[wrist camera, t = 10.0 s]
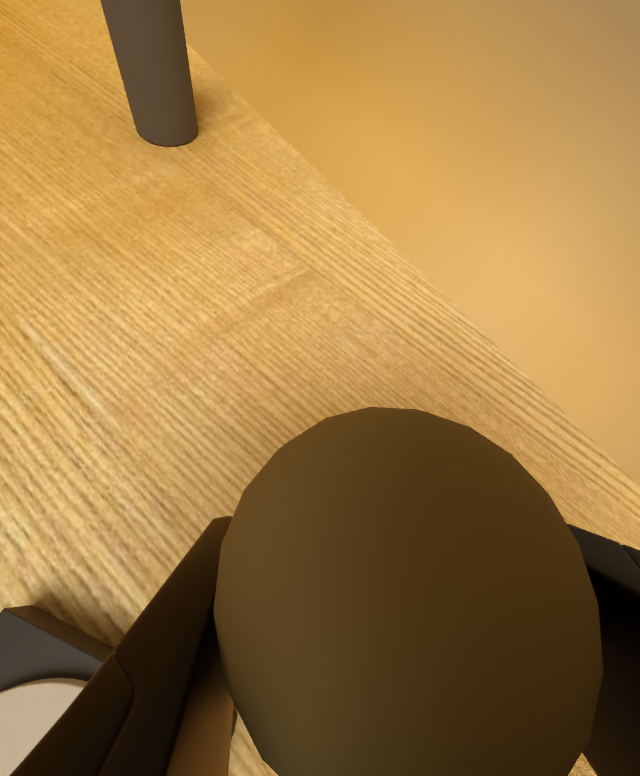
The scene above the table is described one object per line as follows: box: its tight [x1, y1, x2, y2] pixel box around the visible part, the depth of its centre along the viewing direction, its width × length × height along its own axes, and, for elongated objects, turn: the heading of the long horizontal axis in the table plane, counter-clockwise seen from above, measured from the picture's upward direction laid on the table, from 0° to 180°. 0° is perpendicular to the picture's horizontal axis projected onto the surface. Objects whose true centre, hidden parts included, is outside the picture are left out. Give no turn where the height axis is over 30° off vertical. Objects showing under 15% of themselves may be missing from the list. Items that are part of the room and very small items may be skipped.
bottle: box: [101, 0, 198, 146], centre depth 30 cm, size 6×6×15 cm
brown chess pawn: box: [213, 407, 603, 776], centre depth 9 cm, size 6×6×11 cm
